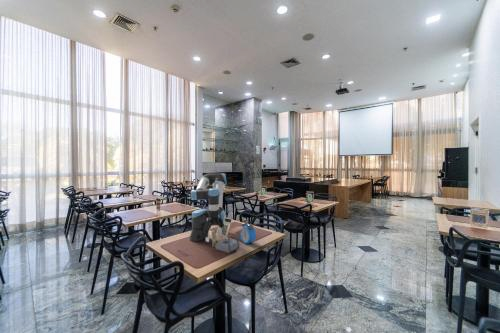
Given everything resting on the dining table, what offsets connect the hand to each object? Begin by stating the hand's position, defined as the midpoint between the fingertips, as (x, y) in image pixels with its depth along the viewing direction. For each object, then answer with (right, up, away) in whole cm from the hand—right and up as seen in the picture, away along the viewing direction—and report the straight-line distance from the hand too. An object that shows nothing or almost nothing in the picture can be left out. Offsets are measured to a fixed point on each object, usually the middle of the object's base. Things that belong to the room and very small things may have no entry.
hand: (213, 238), depth 157 cm
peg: (0, -6, 0) cm, 6 cm away
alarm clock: (+24, -6, +8) cm, 26 cm away
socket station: (+12, -6, -3) cm, 14 cm away
